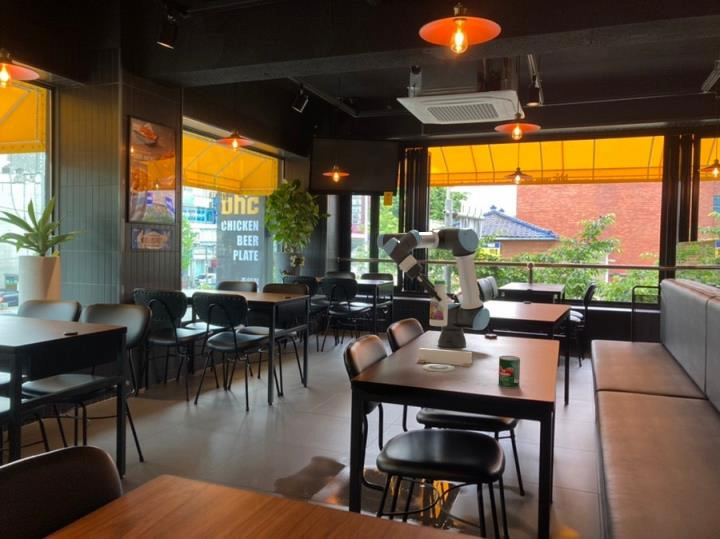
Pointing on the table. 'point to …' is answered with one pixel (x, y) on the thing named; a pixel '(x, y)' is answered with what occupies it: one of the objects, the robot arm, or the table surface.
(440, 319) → the milk bottle
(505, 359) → the canned tomato
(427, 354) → the low wall
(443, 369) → the coaster pad
